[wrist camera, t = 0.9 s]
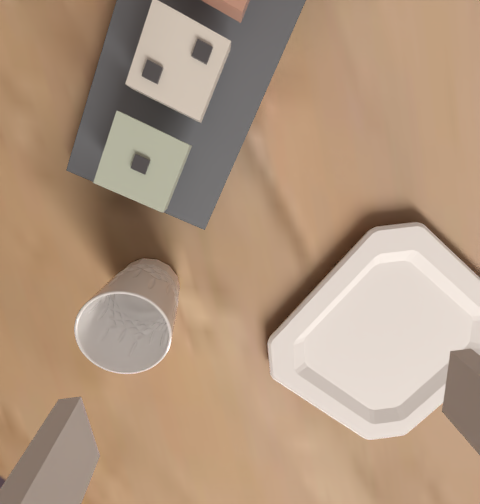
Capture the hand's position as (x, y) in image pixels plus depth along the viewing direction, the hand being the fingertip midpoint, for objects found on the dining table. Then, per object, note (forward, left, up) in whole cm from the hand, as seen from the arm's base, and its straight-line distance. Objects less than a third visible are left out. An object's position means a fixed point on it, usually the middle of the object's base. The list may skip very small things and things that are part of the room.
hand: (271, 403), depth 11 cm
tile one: (-11, +4, -20) cm, 23 cm away
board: (-11, +12, -24) cm, 29 cm away
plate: (+22, -4, -24) cm, 33 cm away
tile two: (-11, +12, -19) cm, 25 cm away
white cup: (-7, -9, -24) cm, 27 cm away
